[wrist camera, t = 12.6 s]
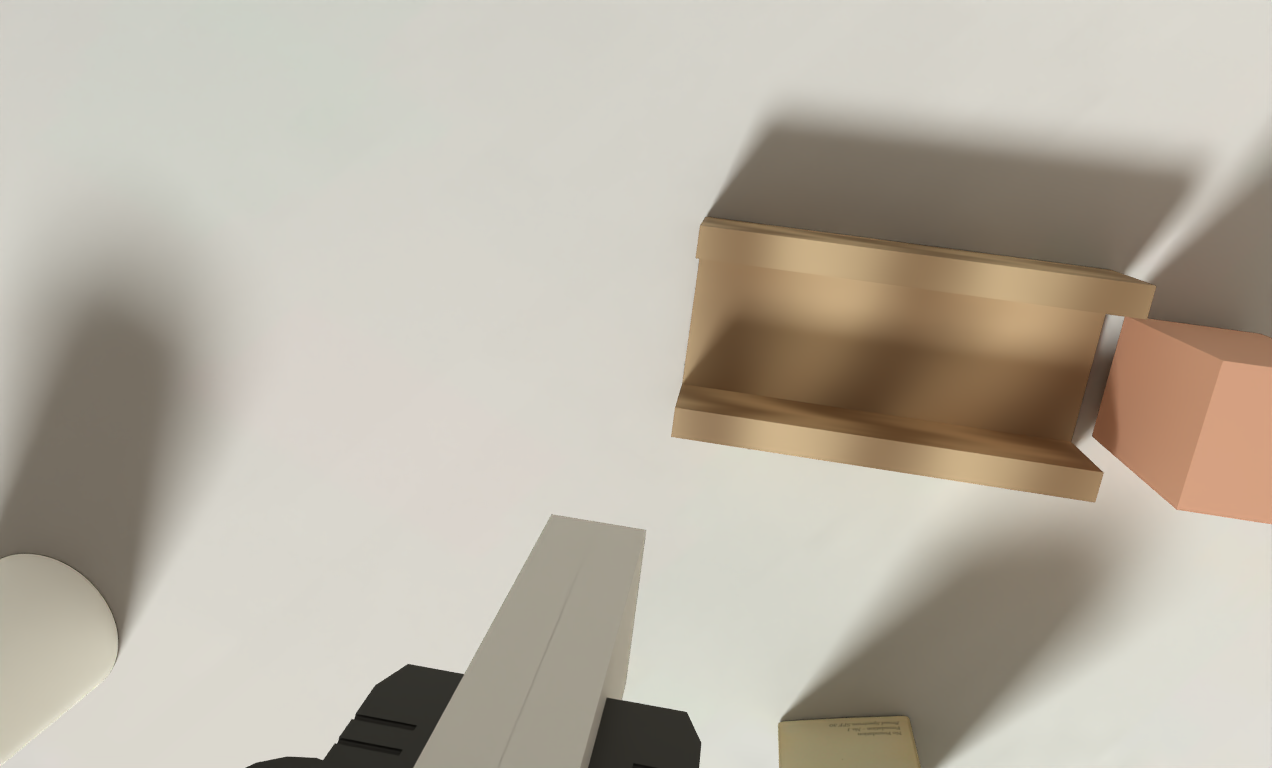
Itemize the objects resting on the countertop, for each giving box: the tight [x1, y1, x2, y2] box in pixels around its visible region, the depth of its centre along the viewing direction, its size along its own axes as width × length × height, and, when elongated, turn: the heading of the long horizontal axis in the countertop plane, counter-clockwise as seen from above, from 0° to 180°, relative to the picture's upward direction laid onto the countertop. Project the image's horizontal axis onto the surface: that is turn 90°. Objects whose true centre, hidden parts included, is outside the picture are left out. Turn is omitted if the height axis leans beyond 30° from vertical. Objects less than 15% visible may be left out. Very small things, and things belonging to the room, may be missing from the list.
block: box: [1092, 317, 1272, 524], centre depth 31 cm, size 5×5×8 cm
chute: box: [671, 217, 1156, 502], centre depth 35 cm, size 16×8×4 cm, turn 83°
